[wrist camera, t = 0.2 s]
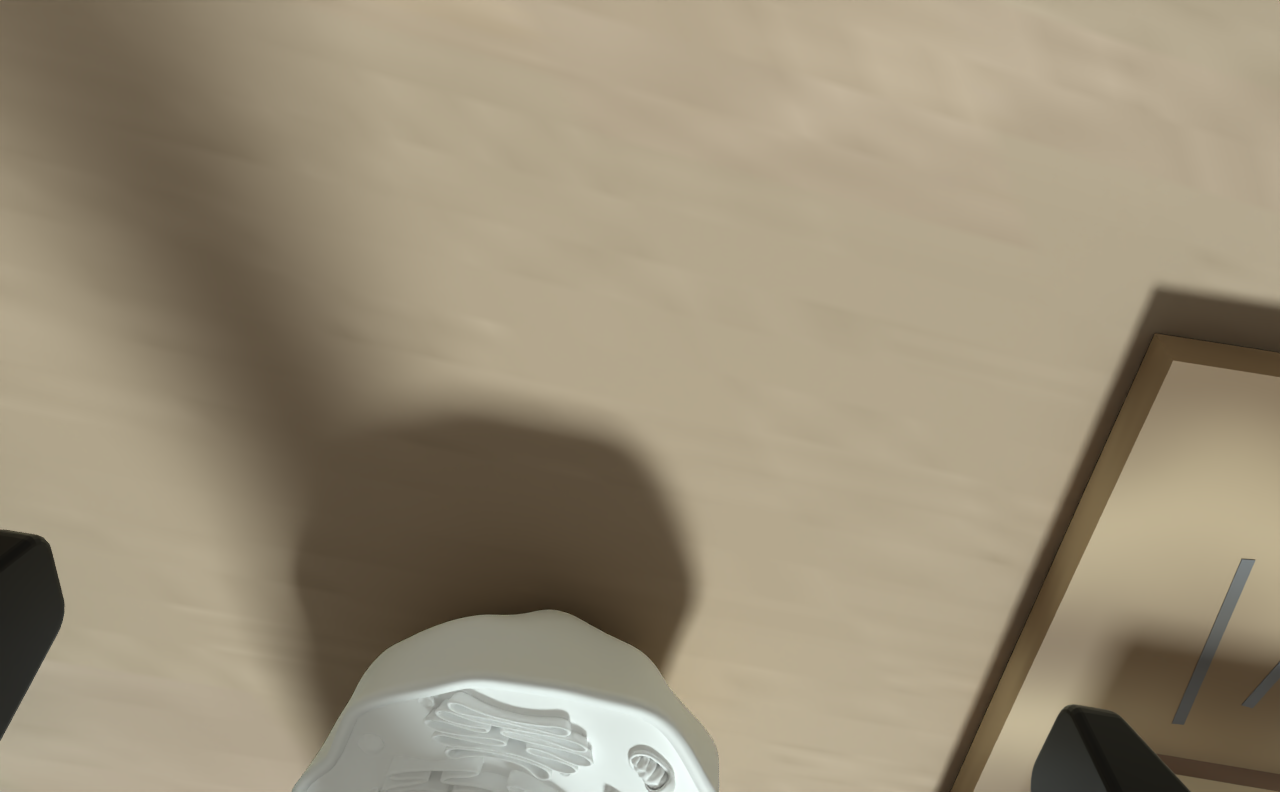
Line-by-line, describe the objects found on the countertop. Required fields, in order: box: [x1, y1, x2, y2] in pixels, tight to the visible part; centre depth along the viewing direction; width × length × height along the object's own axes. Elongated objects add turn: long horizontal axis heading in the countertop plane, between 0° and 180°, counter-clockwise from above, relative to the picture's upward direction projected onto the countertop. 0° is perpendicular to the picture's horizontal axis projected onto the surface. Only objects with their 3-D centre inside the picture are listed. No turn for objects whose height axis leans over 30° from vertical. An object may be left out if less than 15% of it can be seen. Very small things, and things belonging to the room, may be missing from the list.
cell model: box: [292, 609, 719, 792], centre depth 27 cm, size 10×12×7 cm
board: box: [951, 333, 1280, 792], centre depth 26 cm, size 18×11×1 cm, turn 173°
